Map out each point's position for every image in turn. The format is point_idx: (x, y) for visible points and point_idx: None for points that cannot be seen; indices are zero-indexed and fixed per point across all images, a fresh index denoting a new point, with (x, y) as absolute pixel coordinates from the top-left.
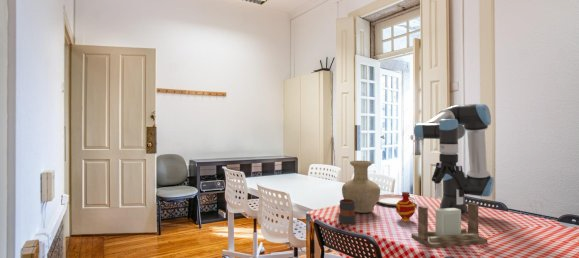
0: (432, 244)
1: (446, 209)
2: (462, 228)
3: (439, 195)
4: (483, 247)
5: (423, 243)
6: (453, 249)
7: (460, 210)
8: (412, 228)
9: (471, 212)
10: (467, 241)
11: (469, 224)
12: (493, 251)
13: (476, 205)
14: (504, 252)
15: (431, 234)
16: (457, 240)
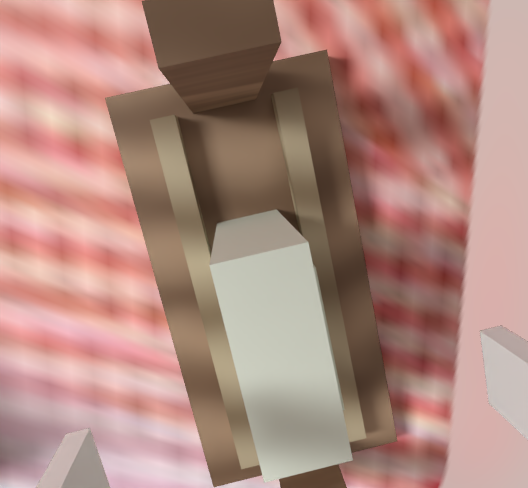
0: (395, 433)
1: (284, 385)
2: (160, 136)
3: (91, 479)
4: (400, 136)
5: None
6: (418, 325)
7: (307, 247)
8: (38, 416)
9: (226, 77)
10: (353, 208)
11: (204, 101)
12: (464, 115)
13: (275, 14)
14: (484, 58)
15: None
16: (343, 267)
